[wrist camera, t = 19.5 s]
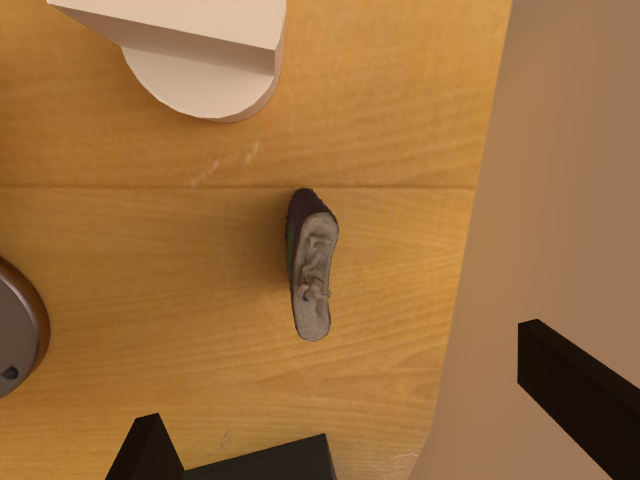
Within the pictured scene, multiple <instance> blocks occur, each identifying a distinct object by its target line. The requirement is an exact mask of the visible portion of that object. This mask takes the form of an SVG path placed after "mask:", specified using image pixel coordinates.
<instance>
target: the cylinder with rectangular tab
mask: <svg viewBox="0 0 640 480" xmlns="http://www.w3.org/2000/svg"><path fill="white" fill-rule="evenodd" d="M46 1H47V3H48V4H49V5H51V6H53V7H54V8H56V9H58V10H59V11H61V12H63V13H64V14H66V15H68V16H70V17H71V18H73V19H75V20H76V21H78V22H80V23H81V24H83V25H85V26H86V27H88V28H90V29H91V30H93V31H95V32H97V33H98V34H100V35H102V36H103V37H105V38H107V39H108V40H110V41H112V42H113V43H115V44H117V45H119V46H120V47H121V49H122V52H123V54H124V57H125V59H126V62H127V64H128V65H129V67H130V68H131V70H132V71H133V73H134V74H135V76H136V77H137V79H138V80H139V82H140V83H141V84H142V85H143V86H144V87H145V88H146V89H147V90H148V91H149V92H150V93H151V94H152V95H153V96H154V97H156V98H157V99H158V100H159V101H161V102H162V103H164V104H166V105H168V106H169V107H171V108H173V109H174V110H176V111H178V112H181V113H184V114H188V115H191V116H194V117H198V118H202V119H205V120H209V121H213V122H223V123H232V122H236V121H240V120H244V119H247V118H249V117H250V116H252V115H254V114H256V113H257V112H259V111H260V110H261V109H262V108H263V107H264V106H265V105H266V104H267V103H268V101H269V100H270V99H271V97H272V95H273V93H274V91H275V89H276V87H277V84H278V80H279V76H280V72H281V63H282V51H283V40H284V28H285V17H286V0H46Z"/></svg>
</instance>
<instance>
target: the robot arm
mask: <svg viewBox="0 0 640 480" xmlns="http://www.w3.org/2000/svg"><path fill="white" fill-rule="evenodd" d="M49 336H50V328H49V321H48V316H47V313H46V310H45V307H44V305H43V303H42V301H41V299H40V297H39V295H38V294H37V292H36V291H35V289H34V288H33V287H32V285H31V284H30V283H29V282H28V280H27V279H26V278H25V277H24V276H23V275H22V274H21V273H20V272H19V271H18V270H17V269H15V268H14V267H13V266H12V265H10V264H9V263H8V262H6V261H5V260H4V259H2V258H1V257H0V399H1V398H2V397H4V396H6V395H7V394H9V393H10V392H12V391H13V390H14V389H15V388H17V387H18V386H19V385H20V384H21V383H22V382H23V381H24V380H25V379H26V378H27V377H28V376H29V375H30V374H31V373H32V372H33V371H34V370H35V369H36V368H37V367H38V365H39V364H40V363H41V361H42V359H43V358H44V355H45V353H46V351H47V347H48V343H49ZM517 379H518V380H517V381H518V382H517V383H518V384H519V385H520V386H521V387H522V388H523V389H524V390H525V391H526V392H527V393H528V394H529V395H530V396H531V397H532V398H533V399H534V400H535V401H536V402H537V403H538V404H539V405H540V406H541V407H542V408H543V409H544V410H545V411H546V412H547V413H548V414H549V415H550V416H551V417H552V418H553V419H554V420H555V421H556V422H557V423H558V424H559V425H560V426H561V427H562V428H563V430H564V431H565V432H566V433H567V434H568V435H569V436H570V437H572V439H573V440H574V441H575V442H576V443H577V444H578V445H579V446H580V447H581V448H582V449H583V450H584V451H585V452H586V453H587V454H588V455H589V456H590V457H591V458H592V459H593V460H594V461H595V462H596V463H597V464H598V465H599V466H600V467H601V468H602V469H603V470H604V471H605V472H606V473H607V474H608V475H609V476H610V477H611V478H612V479H613V480H640V389H639V388H637V387H636V386H634V385H633V384H631V383H630V382H629V381H627V380H626V379H624V378H623V377H621V376H620V375H618V374H617V373H616V372H614V371H612V370H611V369H609V368H608V367H607V366H605V365H604V364H602V363H601V362H599V361H598V360H596V359H595V358H594V357H592V356H591V355H589V354H588V353H587V352H585V351H583V350H582V349H581V348H579V347H578V346H576V345H575V344H573V343H572V342H571V341H569V340H568V339H566V338H565V337H563V336H562V335H560V334H559V333H558V332H556V331H555V330H553V329H552V328H550V327H549V326H547V325H546V324H545V323H543V322H542V321H540V320H539V319H534V320H530V321H526V322H523V323H518V378H517ZM183 472H184V468H183V466H182V464H181V461H180V459H179V457H178V455H177V453H176V450H175V448H174V446H173V444H172V442H171V439H170V437H169V435H168V433H167V430H166V428H165V426H164V424H163V422H162V419H161V417H160V415H159V413H155V414H151V415H147V416H143V417H139V418H136V419H135V421H134V423H133V425H132V427H131V429H130V431H129V433H128V435H127V437H126V439H125V441H124V443H123V445H122V447H121V449H120V451H119V453H118V455H117V457H116V459H115V461H114V463H113V465H112V466H111V468H110V470H109V472H108V474H107V476H106V478H105V480H181V479H182V476H183Z"/></svg>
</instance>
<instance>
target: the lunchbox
mask: <svg viewBox="0 0 640 480" xmlns="http://www.w3.org/2000/svg"><path fill="white" fill-rule="evenodd" d="M181 480H337V478H336V474H335V470H334V466H333V462H332V458H331V454H330V450H329V446H328V442H327V438H326V434H322V435H318V436H314V437H311V438H307V439H303V440H300V441H296V442H292V443H288V444H285V445H281V446H277V447H274V448H270V449H266V450H262V451H259V452H255V453H251V454H248V455H244V456H240V457H236V458H233V459H229V460H225V461H222V462H218V463H214V464H210V465H207V466H203V467H199V468H196V469H192V470H188V471H184V472H183V476H182V479H181Z"/></svg>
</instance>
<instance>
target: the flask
mask: <svg viewBox="0 0 640 480" xmlns="http://www.w3.org/2000/svg"><path fill="white" fill-rule="evenodd" d="M286 220H287V221H286V224H285V225H286V227H285V230H286V231H285V241H286V260H287V271H288V275H289V283H290V292H291V304H292V311H293V316H294V321H295V328H296V330H297V332H298V334H299V336H300V337H301V338H302V339H305V340H308V341H313V342H314V341H317V340H319V339H322V338H323V337H324V336H326V335H328V332H329V329H330V325H331V317H330V312H329V305H328V299H329V297H330V296H331V291H329V290H328V287H329V274H330V265H331V260H332V255H333V251H334V248H335V245H336V243H337V238H338V234H339V227H338V223H337V220H336V217H335V216H334V215H333V214H332V212H331V210H330V209H328V207H327V206H326V205H324V204H323V202H322V200H321V199H319V198H318V197H317V195H316V194H315V193H314V192H313V190H312V189H308V188H307V189H304V188H301V189H299V190H296V191H295V193H294V194H293V195H292V199H291V201H290V203H289V208H288V214H287V216H286Z"/></svg>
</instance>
